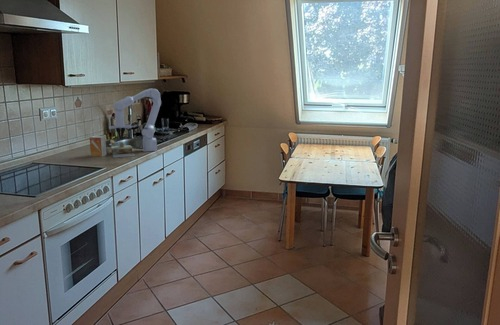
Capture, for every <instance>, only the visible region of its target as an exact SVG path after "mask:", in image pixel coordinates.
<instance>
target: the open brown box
mask: <svg viewBox="0 0 500 325" xmlns="http://www.w3.org/2000/svg"><path fill="white" fill-rule="evenodd" d="M110 150H111V154H112V155H117V154H130V153H133V147H132V148H129V149H118V148H113V150H112V148H111V149H110Z"/></svg>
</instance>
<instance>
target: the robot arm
mask: <svg viewBox="0 0 500 325" xmlns="http://www.w3.org/2000/svg"><path fill="white" fill-rule="evenodd" d="M146 97H147V98H149V99H151V101H152V103H153V104H152V106H151V110H150V112H149V115H148V119H147V122H146V124H145V125H144V128H142V130H141V135H142V149H141V150H142V152H143V153H144V152H156V151H158V146H157V145H158V144H157V138H156V137H154V136H155V135H154V134H155V133H154V131H155V127H154V126H155V124H156V121H157V117H158V114H159V111H160V107H161V106H162V100H161V98H162V97H161V92H159V90H158V89H157V88H152V87H151V88H148V89H144V90H143V91H140V92H139V93H137V94H135V95H133V96H130V95H129V96H127V95H126V96H125V97H124V98H123V99H119V101H115V102H114V103H113V108H114V120H115V125H109V126H108V129H109V130H116V132H117V134H118V137H119V140H124V139H123V137H124V134H125V132H126V129H132V125H131V124H125V113H124V110H125V108H127V107H130V106H132V105H133V104H134V102H135V101H138V100H140V99H143V98H146Z"/></svg>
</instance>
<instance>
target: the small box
mask: <svg viewBox="0 0 500 325" xmlns="http://www.w3.org/2000/svg"><path fill="white" fill-rule="evenodd" d="M89 146H90V156H91V157H100V158H103V157H104V156H107V144H106V135H105V136H104V135H93V136H90V137H89Z"/></svg>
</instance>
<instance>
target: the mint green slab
mask: <svg viewBox="0 0 500 325" xmlns="http://www.w3.org/2000/svg"><path fill="white" fill-rule="evenodd" d="M118 143H119V145H111V146H110V147H111V148H112V150H113V148H118V149H129V148H132V149H133V146H132V145H128V144H127V145H125V144H124V142H123V141H119V142H118ZM112 150H111V151H112Z"/></svg>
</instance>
